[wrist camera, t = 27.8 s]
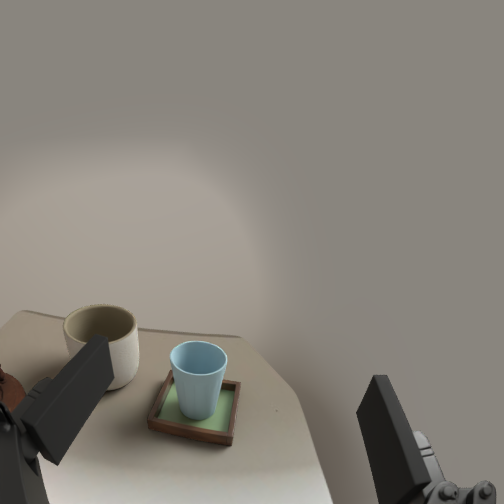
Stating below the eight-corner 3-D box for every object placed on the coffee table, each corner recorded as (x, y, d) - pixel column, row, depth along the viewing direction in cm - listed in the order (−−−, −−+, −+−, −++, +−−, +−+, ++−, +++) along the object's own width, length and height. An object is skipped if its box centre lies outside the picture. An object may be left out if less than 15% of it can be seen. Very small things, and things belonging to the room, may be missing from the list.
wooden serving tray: (239, 391, 46) (241, 382, 45) (231, 446, 34) (232, 437, 34) (170, 379, 46) (170, 369, 46) (148, 428, 35) (146, 419, 34)
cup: (172, 389, 43) (171, 339, 40) (219, 390, 44) (224, 341, 41) (172, 424, 36) (168, 373, 33) (225, 425, 37) (230, 375, 34)
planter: (155, 371, 47) (152, 319, 44) (111, 410, 36) (98, 356, 33) (107, 346, 51) (100, 297, 48) (62, 375, 40) (48, 323, 37)
